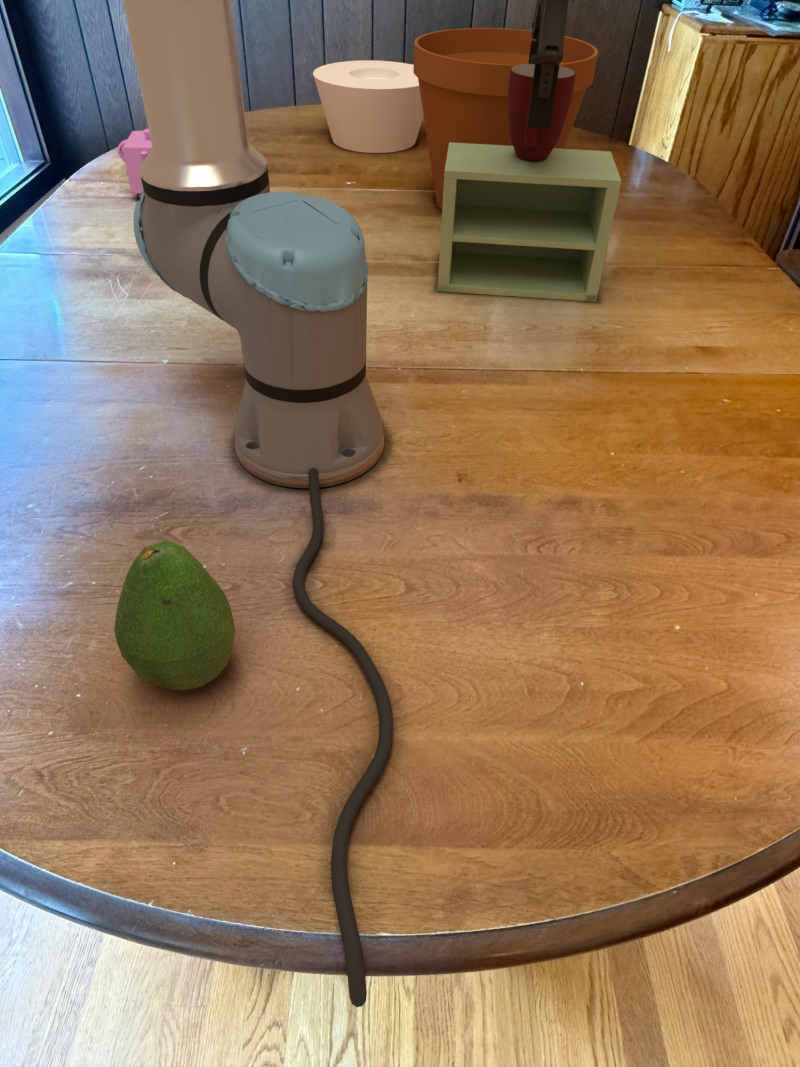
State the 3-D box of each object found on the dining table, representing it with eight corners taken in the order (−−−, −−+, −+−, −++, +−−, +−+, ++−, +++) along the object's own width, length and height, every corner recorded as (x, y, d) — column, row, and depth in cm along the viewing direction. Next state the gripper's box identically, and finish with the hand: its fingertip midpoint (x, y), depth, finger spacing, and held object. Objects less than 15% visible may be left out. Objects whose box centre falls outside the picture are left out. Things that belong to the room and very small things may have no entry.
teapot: (197, 210, 128) (188, 146, 121) (116, 210, 127) (102, 145, 120) (209, 174, 141) (201, 115, 134) (135, 174, 140) (123, 114, 133)
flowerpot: (381, 188, 138) (382, 33, 122) (512, 169, 148) (529, 24, 132) (461, 245, 120) (475, 72, 104) (604, 219, 130) (637, 57, 114)
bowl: (383, 117, 172) (383, 55, 164) (456, 144, 159) (460, 78, 151) (292, 135, 161) (288, 69, 152) (363, 166, 147) (363, 95, 139)
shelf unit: (596, 301, 107) (621, 180, 96) (437, 291, 108) (444, 170, 97) (588, 266, 116) (611, 151, 105) (441, 256, 117) (449, 142, 106)
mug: (564, 175, 97) (579, 85, 90) (499, 171, 97) (509, 81, 91) (561, 150, 105) (574, 65, 98) (501, 146, 105) (510, 61, 98)
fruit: (157, 734, 54) (120, 621, 46) (115, 660, 59) (75, 546, 51) (259, 681, 58) (241, 567, 50) (212, 616, 62) (189, 502, 54)
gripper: (614, -100, 73) (573, 142, 88) (590, -111, 92) (560, 90, 106) (535, -104, 74) (507, 138, 88) (527, -114, 92) (505, 87, 106)
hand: (536, 112), depth 97 cm, fingers open, 13 cm apart
